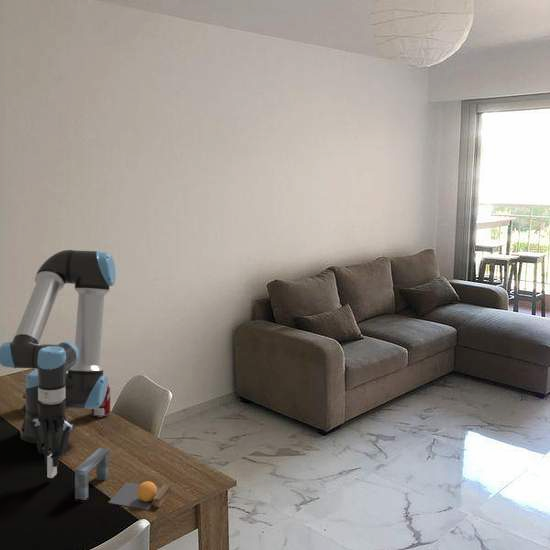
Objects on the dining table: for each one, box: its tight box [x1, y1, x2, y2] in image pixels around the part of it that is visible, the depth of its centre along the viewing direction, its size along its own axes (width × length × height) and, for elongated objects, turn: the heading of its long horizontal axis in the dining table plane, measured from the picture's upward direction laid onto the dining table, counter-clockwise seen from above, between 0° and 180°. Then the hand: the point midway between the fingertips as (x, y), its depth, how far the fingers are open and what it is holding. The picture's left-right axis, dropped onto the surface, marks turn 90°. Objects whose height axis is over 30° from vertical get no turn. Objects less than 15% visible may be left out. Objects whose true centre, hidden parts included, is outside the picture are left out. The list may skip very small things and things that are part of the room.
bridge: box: [74, 447, 110, 501], centre depth 180 cm, size 3×14×9 cm, turn 168°
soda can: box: [91, 383, 111, 418], centre depth 233 cm, size 7×7×12 cm
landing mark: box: [107, 481, 162, 511], centre depth 178 cm, size 12×12×1 cm
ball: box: [137, 480, 158, 502], centre depth 176 cm, size 6×6×6 cm
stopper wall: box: [152, 484, 171, 508], centre depth 177 cm, size 2×8×2 cm, turn 168°
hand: (52, 475), depth 183 cm, fingers closed
